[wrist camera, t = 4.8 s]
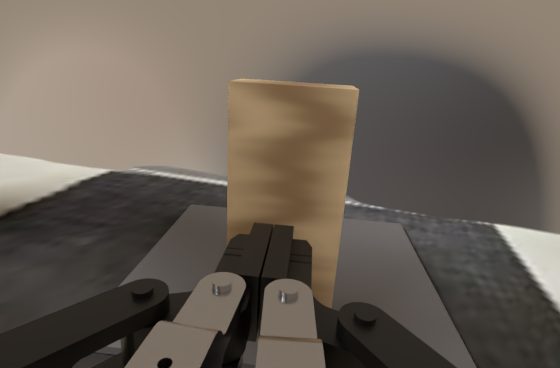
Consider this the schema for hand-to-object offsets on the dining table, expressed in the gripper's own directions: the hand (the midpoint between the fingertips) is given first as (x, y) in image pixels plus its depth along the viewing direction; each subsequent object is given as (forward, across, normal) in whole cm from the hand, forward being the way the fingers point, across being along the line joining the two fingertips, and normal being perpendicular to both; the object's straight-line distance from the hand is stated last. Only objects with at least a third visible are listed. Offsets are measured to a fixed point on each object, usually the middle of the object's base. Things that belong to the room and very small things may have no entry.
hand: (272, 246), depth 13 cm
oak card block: (+6, 0, +8) cm, 11 cm away
